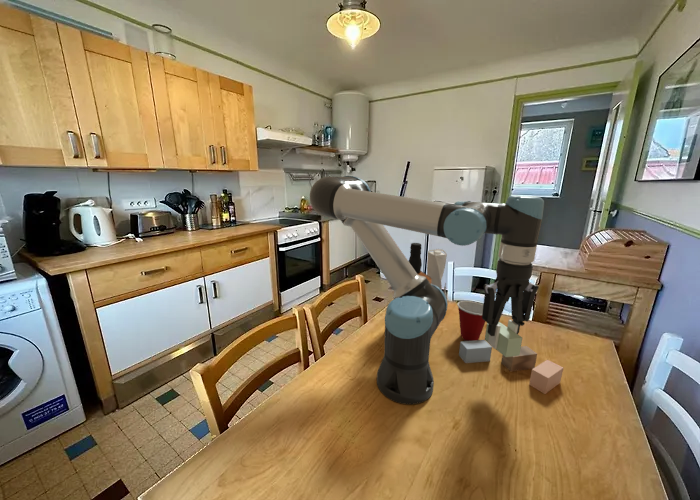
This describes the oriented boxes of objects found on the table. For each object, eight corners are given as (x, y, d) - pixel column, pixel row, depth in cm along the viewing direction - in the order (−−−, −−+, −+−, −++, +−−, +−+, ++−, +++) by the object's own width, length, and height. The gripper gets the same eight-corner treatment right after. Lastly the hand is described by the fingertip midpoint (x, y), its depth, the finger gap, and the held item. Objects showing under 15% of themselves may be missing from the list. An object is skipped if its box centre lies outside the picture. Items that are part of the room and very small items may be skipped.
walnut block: (510, 371, 82) (513, 356, 81) (501, 363, 86) (503, 348, 85) (534, 368, 84) (537, 353, 83) (524, 360, 88) (526, 345, 86)
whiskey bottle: (392, 324, 108) (395, 242, 100) (409, 316, 114) (414, 239, 106) (413, 336, 100) (419, 248, 92) (430, 327, 106) (437, 244, 98)
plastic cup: (494, 341, 97) (499, 309, 94) (470, 349, 93) (475, 316, 90) (469, 326, 107) (473, 297, 103) (447, 333, 102) (450, 302, 99)
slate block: (465, 363, 86) (467, 349, 85) (458, 355, 90) (460, 341, 89) (489, 361, 87) (492, 347, 86) (482, 353, 91) (484, 339, 90)
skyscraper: (440, 319, 113) (446, 251, 105) (420, 314, 117) (425, 248, 109) (445, 310, 120) (451, 246, 112) (426, 306, 124) (431, 243, 116)
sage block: (519, 355, 71) (522, 337, 70) (505, 357, 71) (508, 339, 69) (497, 338, 79) (499, 322, 78) (484, 339, 78) (486, 323, 77)
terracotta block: (544, 394, 74) (548, 378, 73) (529, 385, 77) (532, 369, 76) (560, 383, 78) (563, 367, 77) (544, 374, 81) (547, 359, 80)
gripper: (491, 266, 64) (478, 356, 70) (560, 264, 66) (541, 351, 72) (473, 257, 71) (462, 339, 77) (536, 255, 74) (520, 335, 80)
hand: (500, 344), depth 75 cm, fingers closed on sage block, 4 cm apart
